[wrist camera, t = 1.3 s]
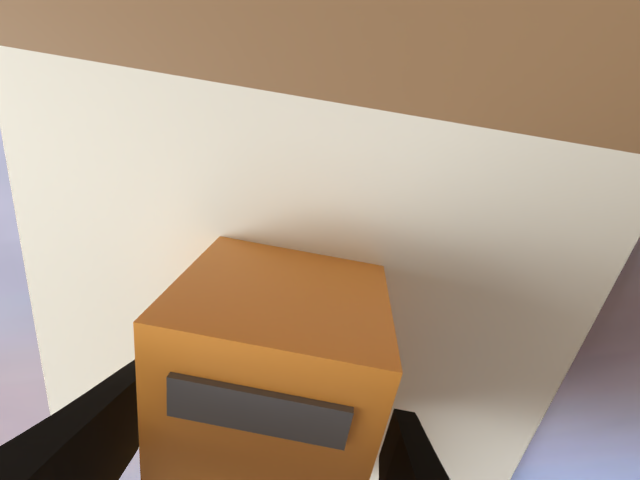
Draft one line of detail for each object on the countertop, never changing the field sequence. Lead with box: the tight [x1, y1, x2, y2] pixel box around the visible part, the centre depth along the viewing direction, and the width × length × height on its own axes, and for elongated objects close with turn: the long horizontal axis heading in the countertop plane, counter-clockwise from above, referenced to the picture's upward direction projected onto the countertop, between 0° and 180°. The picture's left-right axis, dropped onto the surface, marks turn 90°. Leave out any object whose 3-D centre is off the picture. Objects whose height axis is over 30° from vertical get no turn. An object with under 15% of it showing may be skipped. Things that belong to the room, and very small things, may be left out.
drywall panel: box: [0, 0, 640, 480], centre depth 11 cm, size 18×23×1 cm
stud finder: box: [133, 236, 403, 480], centre depth 10 cm, size 5×9×5 cm, turn 171°
